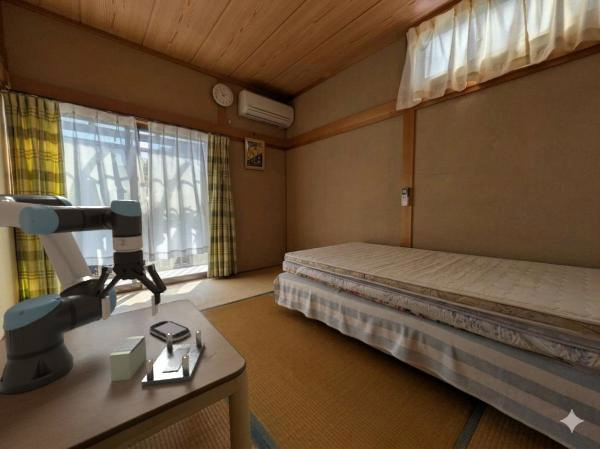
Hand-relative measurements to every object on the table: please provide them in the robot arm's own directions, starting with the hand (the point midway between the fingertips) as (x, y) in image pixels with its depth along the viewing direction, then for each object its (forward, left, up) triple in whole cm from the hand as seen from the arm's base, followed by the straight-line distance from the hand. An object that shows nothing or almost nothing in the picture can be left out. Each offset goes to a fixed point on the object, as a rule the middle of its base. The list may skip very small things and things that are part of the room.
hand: (131, 316), depth 75 cm
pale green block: (-1, -1, -17) cm, 17 cm away
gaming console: (+3, +20, -17) cm, 27 cm away
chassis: (+13, -1, -17) cm, 21 cm away
